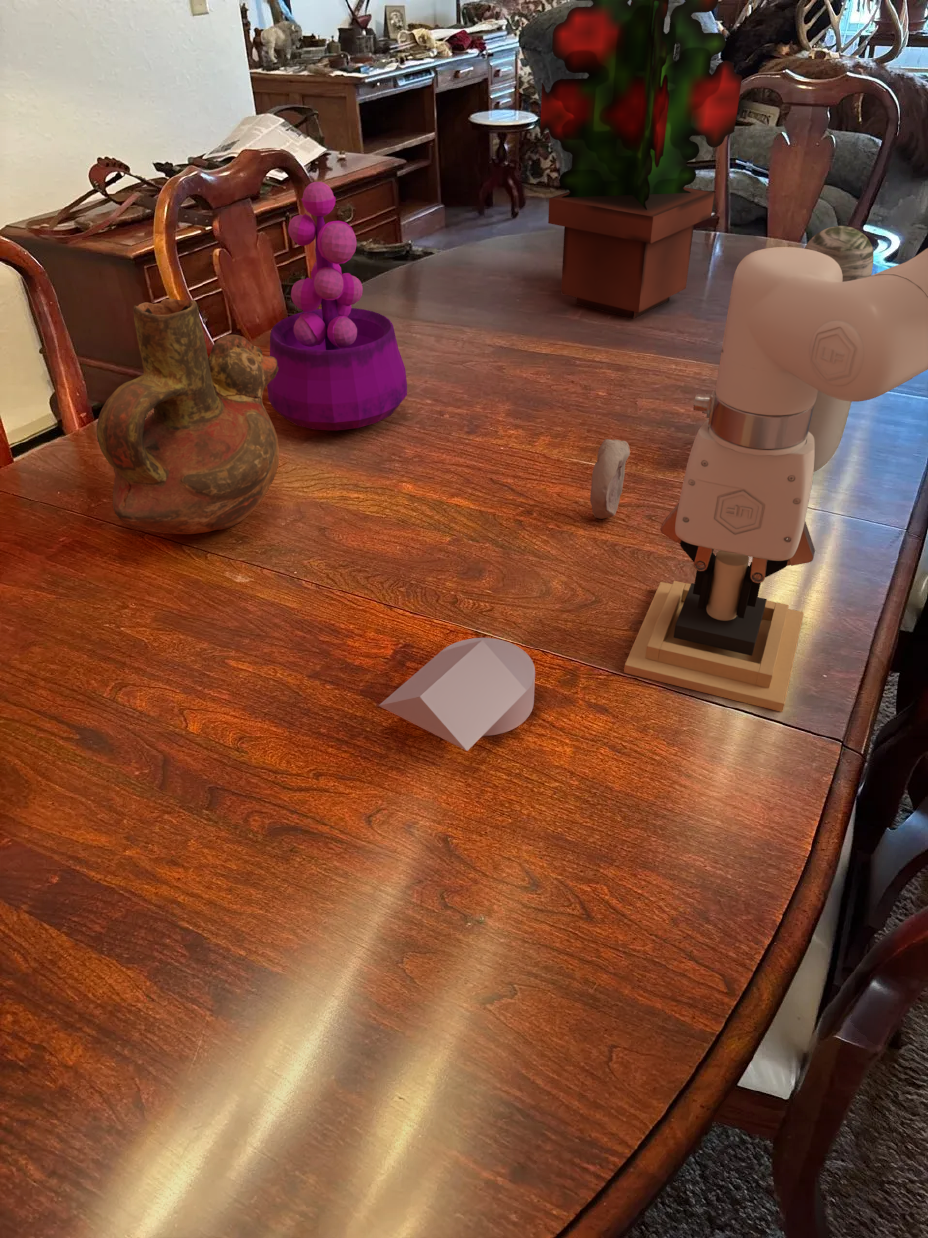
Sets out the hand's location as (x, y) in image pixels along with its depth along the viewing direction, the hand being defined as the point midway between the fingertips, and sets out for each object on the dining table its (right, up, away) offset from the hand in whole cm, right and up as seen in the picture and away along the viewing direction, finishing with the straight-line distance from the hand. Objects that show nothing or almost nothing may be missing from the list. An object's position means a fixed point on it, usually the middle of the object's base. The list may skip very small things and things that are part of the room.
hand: (723, 603), depth 83 cm
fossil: (-8, +10, +21) cm, 25 cm away
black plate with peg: (0, -2, +1) cm, 2 cm away
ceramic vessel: (-52, +11, +24) cm, 58 cm away
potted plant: (+4, +54, +79) cm, 96 cm away
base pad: (0, -4, +3) cm, 5 cm away
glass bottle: (+17, +17, +30) cm, 38 cm away
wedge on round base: (-23, -10, -4) cm, 25 cm away
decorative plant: (-40, +26, +44) cm, 65 cm away
